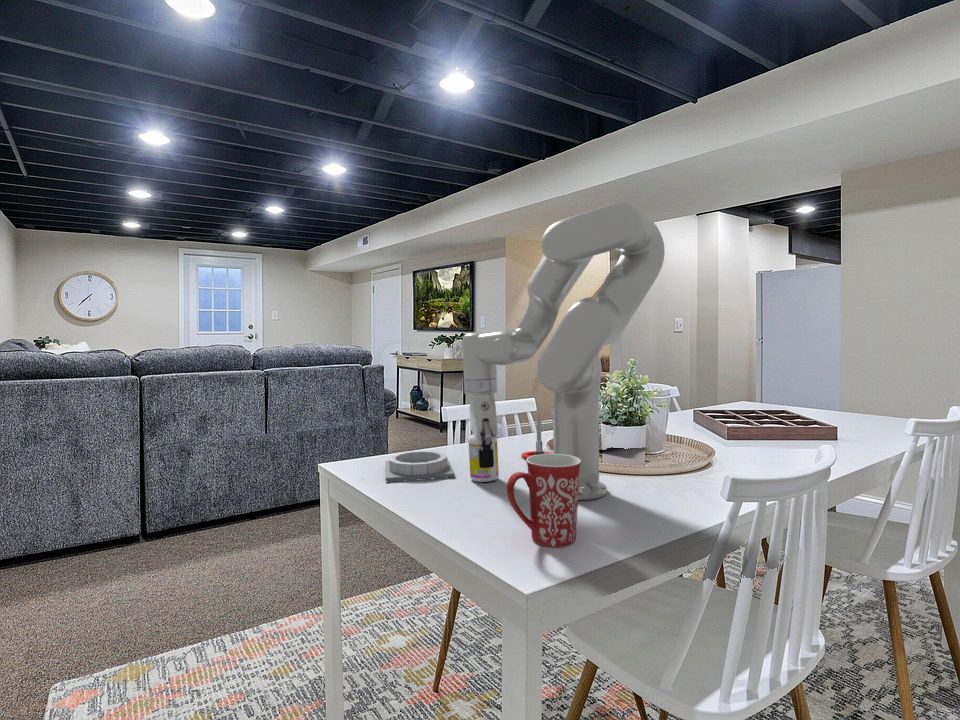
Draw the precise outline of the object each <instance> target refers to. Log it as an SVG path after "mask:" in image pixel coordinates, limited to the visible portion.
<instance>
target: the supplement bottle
mask: <svg viewBox="0 0 960 720" xmlns="http://www.w3.org/2000/svg"><path fill="white" fill-rule="evenodd" d="M482 425H483V424H482ZM472 430H474V429H473V425H472ZM472 430H471V431H472ZM481 436H485V435H484V434H481ZM491 436H492V445H493V457H494V466H493V467H489V468H480V467H479V450H480V444H479V438H478V437H476V436H475V435H474V431H473V432H472V434H471V435H470V436H469V437H468V439H467V440H468V442H467V443H468V459H469V478H470V479H471V481H474V482H479V483H489V482H492V481H493V482H494V481H495V480H498V479H499V475H500V474H499V453H498V437H497V436H496V437H494V436H493V435H492V434H491ZM482 443H483V440H482Z"/></svg>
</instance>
